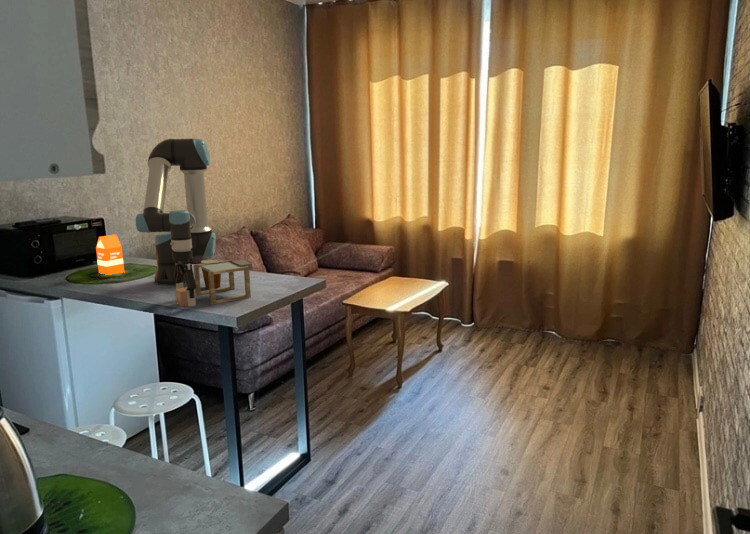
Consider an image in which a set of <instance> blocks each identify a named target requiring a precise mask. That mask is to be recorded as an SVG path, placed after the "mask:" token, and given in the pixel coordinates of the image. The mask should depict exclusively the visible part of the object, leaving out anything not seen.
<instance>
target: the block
mask: <svg viewBox="0 0 750 534" xmlns="http://www.w3.org/2000/svg"><path fill="white" fill-rule="evenodd" d="M186 289H187V286H185V287H184V288H179V289H176V288H175V298H176V299H175V302H176V304H177V303H178V304H179V305H178V304H177V305H178V306H180V307H187V306H188V297H187V291H186ZM195 302H196V303H197V295H196V290H195ZM188 307H189V306H188Z"/></svg>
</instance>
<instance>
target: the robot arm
mask: <svg viewBox="0 0 750 534" xmlns="http://www.w3.org/2000/svg"><path fill="white" fill-rule="evenodd" d="M210 165H211V159H210V151H209V148H208V144H207V143H206V141H205V140H204V139H202V138H167V139H164V140H161V141H159V142H158V143H157V144H156V145H155V147H153V149H152V150H151V151H150V153H149V156H148V158H147V167H148V169H149V171H148V178H147V183H146V190H145V191H146V192H145V196H144V197H145V198H144V206H143V211H142V212H143V213H141V212H140V213H137V215H136V216H135V227H136V230H137V231H138V232H139V233H149V234H150V233H158V234H156V235H155V237H154V246H155V255H156V270H155V275H154V283H155V284H156V283H158V284H157V285H160V284H172V285H175V289H179V288H185V287H184V283H185V285H186V287H187V289H186V291H187V297H188V307H195V306H196V305H197V301H196V302H195V291H196V288H197V287H196V283H195V276H194V269H193V265H192V263H189V261H191V260H192V259H207V258H208V259H209V258H210V259H211V258H212V257H214V255H215V251H216V242H217V237H216V236H217V234H216V233H215V232H213V230H212V227H211V226H209V221H208V207H207V195H206V185H205V183H206V182H205V175H204V174H205V173H206V171H207V170H208V166H210ZM173 166H174V167H176V166H177V167H179V171H180V172H181V173H183V179H184V180H183V181H184V189H185V203H186V209H176V210H175V209H174V210H169V212H167V213H165V212H164V209H165V203H166V202H165V201H166V192H167V184H168V175H169V172H170V171H171V169H172V167H173Z"/></svg>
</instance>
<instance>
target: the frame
mask: <svg viewBox="0 0 750 534" xmlns="http://www.w3.org/2000/svg"><path fill="white" fill-rule="evenodd" d="M231 261H234V260H233V259H227V260H221V261H219V262H212V263H204V264H201V263H196V264H193V274H194V279H195V283H196V287H197V288H196V289H195V291H196V296H202V294H203V295H207V294H209V302H210V303H209V304H211V305H214V304H215V305H216V304H220V303H227V302H231V301H238V300H237V299H239V300H243V299H244V298H245V299H250V298H252V296H251V295H252V293H251V292H252V291H251V278H250V277H251V275H250V270H249V267H248V266H245V267H240V268H232V269H225V270H218V271H210V272H208V277H209V289H207V290H202V289H201V277H200V268H201V266H205V265H212V264H220V263H227V262H230V263H231ZM242 270H243V273H244V274H243V276H244V292H245V293H244V294H243V295H236V296H233V297H232V296H231V297H225V298H220V299H216V293H220V292H225V291H231V290H235V287H236V286H235V276H234V275H235V274H234V272H242ZM227 273H228V282H229V283H228V284H229V286H227V287H219V288H216V289H215V286H214V274H221V275H222V274H227ZM249 297H250V298H249Z"/></svg>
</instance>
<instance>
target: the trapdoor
mask: <svg viewBox="0 0 750 534" xmlns="http://www.w3.org/2000/svg"><path fill="white" fill-rule="evenodd" d="M245 266H248V267H249V271H251V270H253V263H251V262H249V261H246V260H243V259H239V260H233V261H231V263H230V262H227V263H220V264H212V265H205V266H201V267H200V268H201V270H202V269H204V270H206V271H208V272H210V271H218V270H225V269H232V268H240V267H245ZM242 271H243V272H244V270H242ZM242 271H241V272H242Z"/></svg>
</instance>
